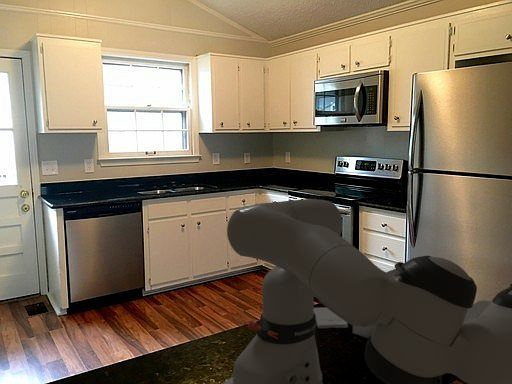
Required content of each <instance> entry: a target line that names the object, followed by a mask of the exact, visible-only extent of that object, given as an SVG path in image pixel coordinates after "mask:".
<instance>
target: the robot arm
mask: <svg viewBox="0 0 512 384" xmlns="http://www.w3.org/2000/svg"><path fill="white" fill-rule="evenodd" d="M342 230H343V218H342V214H341V211H340V210H339V208H338V207H337V205H335V203H333V202H332V201H329V200H324V199H315V198H303V199H293V200H284V201H283V200H282V201H274V202H263V203H255V204H252V205H249V206H248V205H247V206H244V207H242V208H238V209H235V211H233V213H232V214H231V216H230V218H229V219H228V223H227V227H226V236H227V240H228V242H229V244H230V247H231V248H232V249H233V251H234V252H235V253H236V254H238V255H239V256H241V257H246V258H252V259H256V260H260V261H264V262H266V263H267V264H270V265H273V266H274V267H273V268H272V269H271V270H269V271H268V272H267V273H266V274H265V276H264V278H263V279H262V282H261V295H262V296H261V299H262V301H261V302H262V303H261V304H262V306H261V307H262V313H261V315H260V317H259V322H256V321H255V320H253V319H252V320H249V321H248V323H247V329H248V330H250V331H253V332H254V333H256V334H255V336H254V337H253V338H252V340H250V342H249V343H248V345H246V347H245V349H244V350H243V351H242V352H241V353H240V354H239V356H238V357H237V358H236V359H235V361H234V365H233V372H232V376H231V377H230V378H228V379H227V380H226V381H224V382H223V383H222V384H324V383H323V373H322V370H321V366H320V358H319V352H318V351H319V350H318V347H317V341H316V337H315V336H316V335H315V334H316V332H317V322H316V315H315V313H314V308H315V307H314V305H315V304H314V303H315V301H314V299H315V298H316V299H317V300H318V301H319V302H320V303H321V304H322V305H323V306H325V307H327V308H328V309H329V310H330V311H332V312H333V313H334V314H336V315H337V316H338V317H340V318H341V319H343V320H344V321H346V322H347V324H349V325H351V326H352V327H353V326H358V327H366V326H370V325H373V324H375V323H376V326H375V328H374V331H373V334H372V335H371V336H370V337H369V338H368V339H367V341H366V346H365V351H364V361H365V363H366V365H367V367H368V368H369V370H370V371H371V373H373V375H374V376H375V377H376V378H377V379H379V380H380V381H382V383H384V384H443V378H442V377H443V375H445V374H452V375H454V376H455V377H457V378H458V379H460V380H461V381H462V382H464V383H466V384H512V283H510V285H509V286H508V287H507V288H505V289H503V290H501V291H499V292H498V293H497V294H496V295H495V296H494V297H493V298H492V300H491V301H490V300H478V301H476V302H475V300H476V296H477V291H478V287H477V284H476V282H475V280H474V279H473V278H472V277H471V276H470V275H469V274H468V273H467V271H465V270H464V268H462V267H461V266H460V265H458V264H457V263H455V262H453V261H451V260H449V259H447V258H443V257H438V256H437V257H436V256H431V255H422V256H417V257H413V258H411V259H409V260H407V261H406V262H403V261H398V262H397V263H395V264H394V266H393V267H394V269H396V270H397V271H398V272H399V274H396V275H392V274H389V273H386V272H387V271H384V270H382V269H381V268H379V267H378V266H377V265H376V264H374V263H373V262H372V260H370V258H369V257H368V256H366V255H365V254H363V252H361V250H359V249H358V248H356V247H355V246H354V245H353V244H351V243H350V242H349V241H348V240H346V239H345V238H343V237H342V236H341V234H342V232H343V231H342Z"/></svg>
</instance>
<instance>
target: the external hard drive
mask: <svg viewBox="0 0 512 384" xmlns="http://www.w3.org/2000/svg"><path fill="white" fill-rule="evenodd" d="M314 313H315V315H316V326H317V328H318V329H333V328H335V329H347V328H348V327H349V325H348V324H349V323H347V322H346V321H344V320H343V319H341V318H340V317H338V316H337V315H336V314H334V313H333V312H332V311H330V310H329V309H328V308H327V307H323V306H322V307H314Z"/></svg>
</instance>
